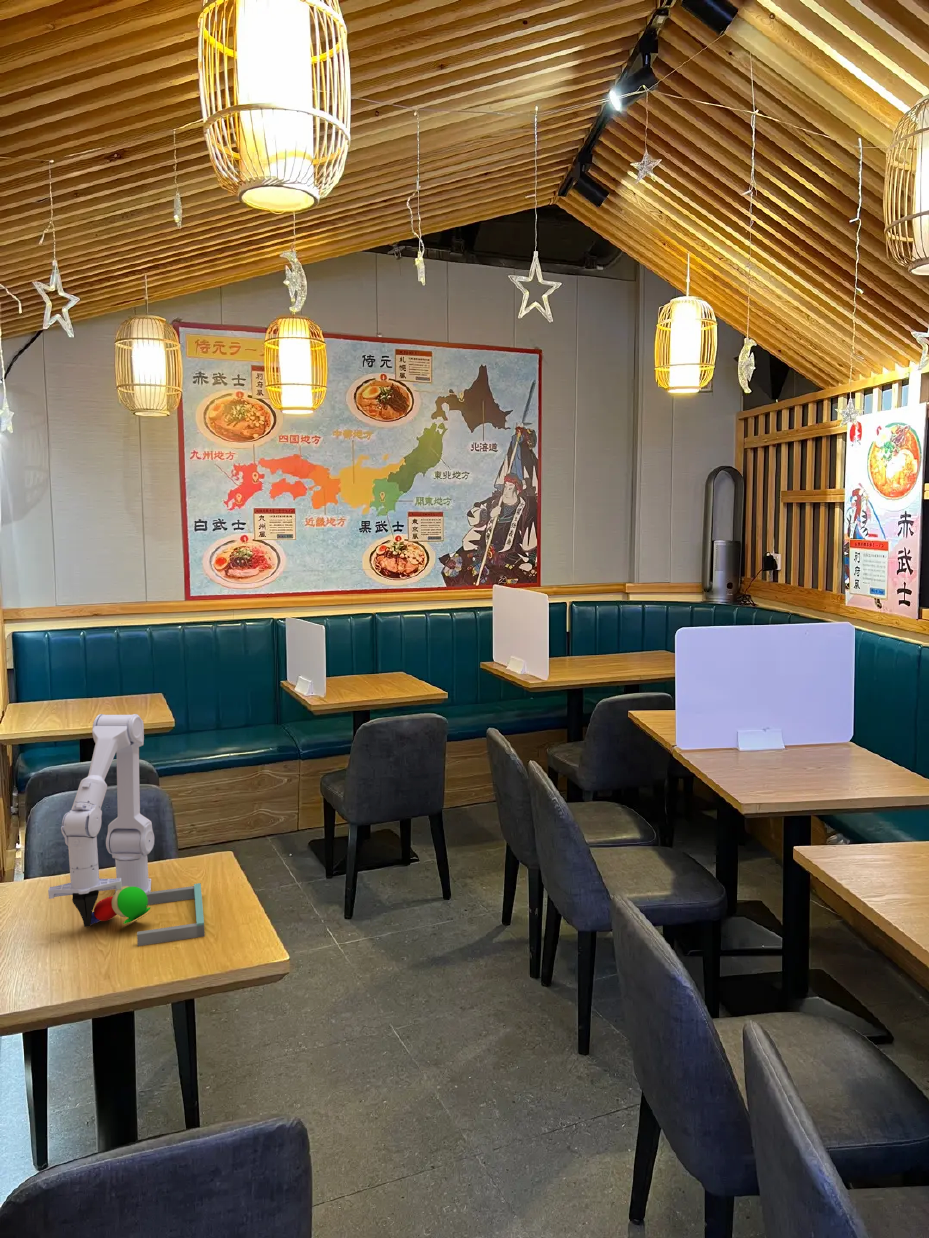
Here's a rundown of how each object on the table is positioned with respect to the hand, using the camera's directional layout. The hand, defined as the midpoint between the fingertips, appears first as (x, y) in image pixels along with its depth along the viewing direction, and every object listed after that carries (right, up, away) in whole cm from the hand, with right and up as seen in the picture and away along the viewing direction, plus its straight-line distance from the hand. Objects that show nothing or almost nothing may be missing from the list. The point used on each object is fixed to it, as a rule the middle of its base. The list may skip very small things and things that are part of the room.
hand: (87, 924), depth 197 cm
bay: (+16, -1, +5) cm, 17 cm away
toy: (+6, -1, +3) cm, 7 cm away
